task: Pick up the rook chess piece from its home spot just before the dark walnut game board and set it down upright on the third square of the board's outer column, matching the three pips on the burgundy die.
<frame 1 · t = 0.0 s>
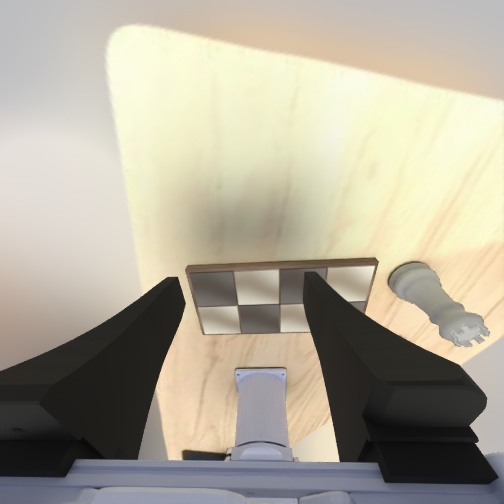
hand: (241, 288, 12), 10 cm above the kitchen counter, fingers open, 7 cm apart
game board: (279, 298, 25), on the kitchen counter
rook chess piece: (406, 276, 24), on the kitchen counter
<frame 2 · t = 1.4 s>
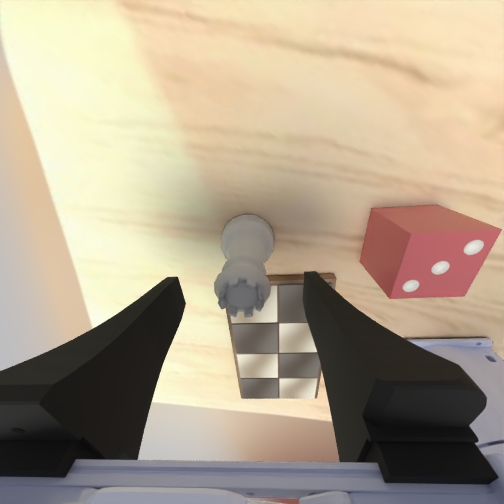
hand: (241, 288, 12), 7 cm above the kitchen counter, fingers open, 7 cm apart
game board: (277, 345, 25), on the kitchen counter
die: (394, 235, 18), on the kitchen counter
rook chess piece: (248, 236, 18), on the kitchen counter
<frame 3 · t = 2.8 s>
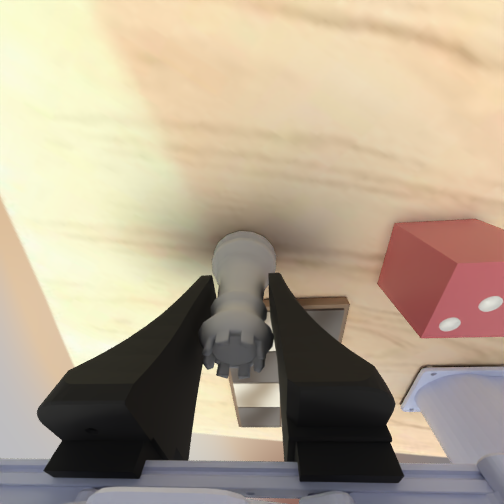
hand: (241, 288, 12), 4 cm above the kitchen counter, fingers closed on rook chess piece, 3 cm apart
game board: (279, 372, 22), on the kitchen counter
die: (421, 253, 15), on the kitchen counter
rook chess piece: (245, 255, 15), on the kitchen counter, touching gripper
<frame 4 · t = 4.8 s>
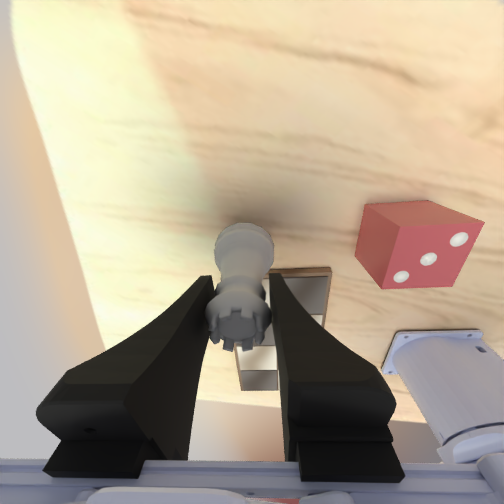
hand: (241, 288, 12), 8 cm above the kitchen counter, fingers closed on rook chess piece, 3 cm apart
game board: (276, 338, 26), on the kitchen counter
die: (387, 229, 18), on the kitchen counter
rook chess piece: (245, 245, 16), point 3 cm above the kitchen counter, touching gripper
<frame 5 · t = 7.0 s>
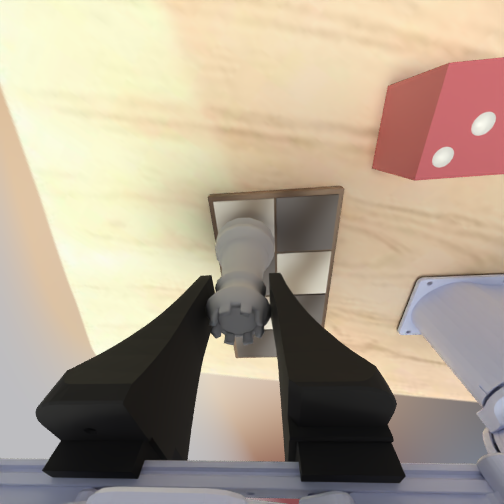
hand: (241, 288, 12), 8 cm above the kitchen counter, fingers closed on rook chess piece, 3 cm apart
game board: (275, 289, 22), on the kitchen counter
die: (415, 127, 15), on the kitchen counter
rook chess piece: (245, 240, 16), point 3 cm above the kitchen counter, touching gripper
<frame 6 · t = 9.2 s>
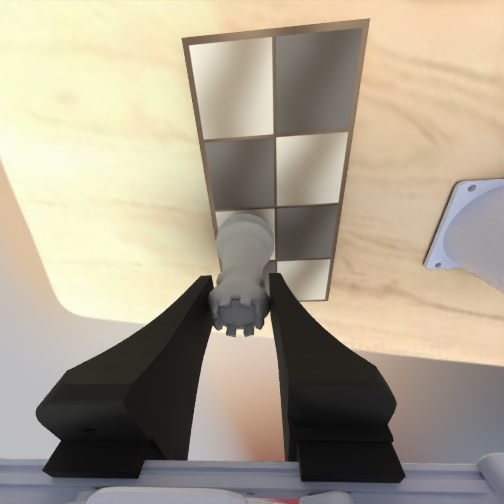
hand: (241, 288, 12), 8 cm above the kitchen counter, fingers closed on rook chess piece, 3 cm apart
game board: (274, 203, 17), on the kitchen counter
rook chess piece: (246, 236, 17), point 2 cm above the kitchen counter, touching gripper
when the fingers open (6 cm above the kitchen counter, at t = 11.0 s): rook chess piece stays where it is, resting on game board.
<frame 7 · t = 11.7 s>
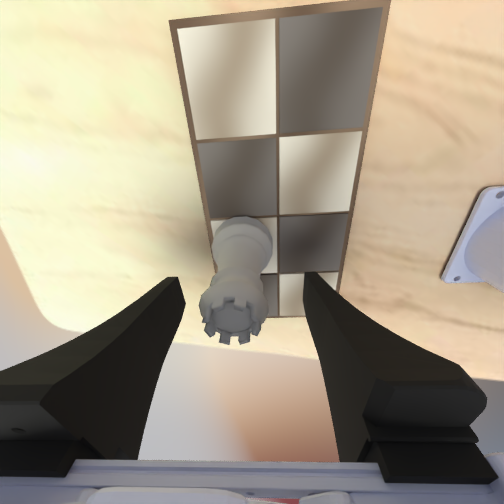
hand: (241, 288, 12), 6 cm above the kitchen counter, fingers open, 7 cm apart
game board: (277, 211, 16), on the kitchen counter
rook chess piece: (243, 240, 16), point 1 cm above the kitchen counter, touching game board
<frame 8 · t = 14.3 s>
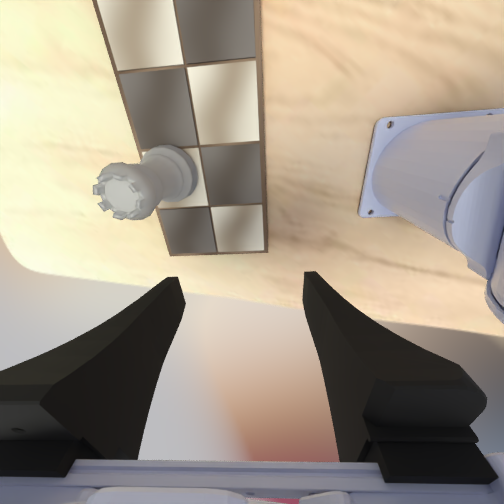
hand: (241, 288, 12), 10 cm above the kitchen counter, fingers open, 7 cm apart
game board: (202, 145, 18), on the kitchen counter
rook chess piece: (174, 172, 18), point 1 cm above the kitchen counter, touching game board
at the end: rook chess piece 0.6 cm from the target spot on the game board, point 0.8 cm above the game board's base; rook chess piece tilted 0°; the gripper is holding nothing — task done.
